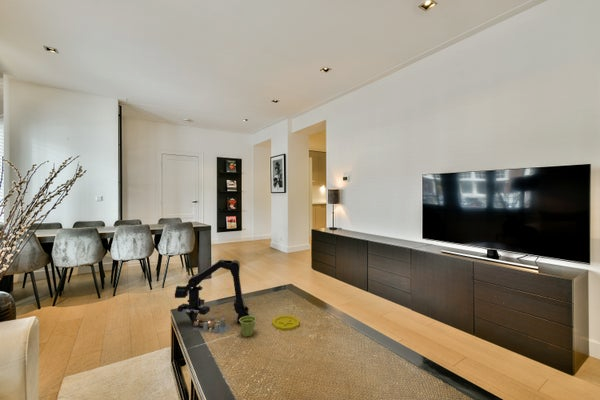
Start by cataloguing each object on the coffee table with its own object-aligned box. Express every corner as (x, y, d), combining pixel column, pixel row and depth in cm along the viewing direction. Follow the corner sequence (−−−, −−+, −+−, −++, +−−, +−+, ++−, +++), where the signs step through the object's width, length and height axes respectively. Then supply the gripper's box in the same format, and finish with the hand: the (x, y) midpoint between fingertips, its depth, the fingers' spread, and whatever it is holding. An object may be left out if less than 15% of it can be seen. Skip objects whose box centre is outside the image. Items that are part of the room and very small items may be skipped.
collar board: (231, 328, 160) (231, 318, 160) (223, 336, 150) (223, 326, 150) (201, 323, 164) (201, 314, 164) (191, 331, 155) (192, 322, 155)
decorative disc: (300, 319, 175) (300, 316, 175) (297, 332, 158) (297, 329, 157) (275, 317, 177) (275, 314, 177) (269, 330, 159) (269, 327, 159)
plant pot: (235, 335, 152) (235, 320, 151) (246, 328, 160) (246, 314, 160) (248, 340, 147) (248, 324, 147) (258, 332, 155) (259, 318, 155)
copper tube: (215, 326, 159) (215, 320, 159) (212, 329, 155) (212, 323, 155) (197, 324, 162) (197, 317, 162) (193, 327, 158) (193, 320, 158)
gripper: (215, 294, 166) (214, 319, 166) (188, 291, 170) (188, 315, 170) (204, 300, 155) (204, 327, 155) (176, 297, 159) (176, 323, 159)
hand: (193, 323), depth 160 cm, fingers closed
